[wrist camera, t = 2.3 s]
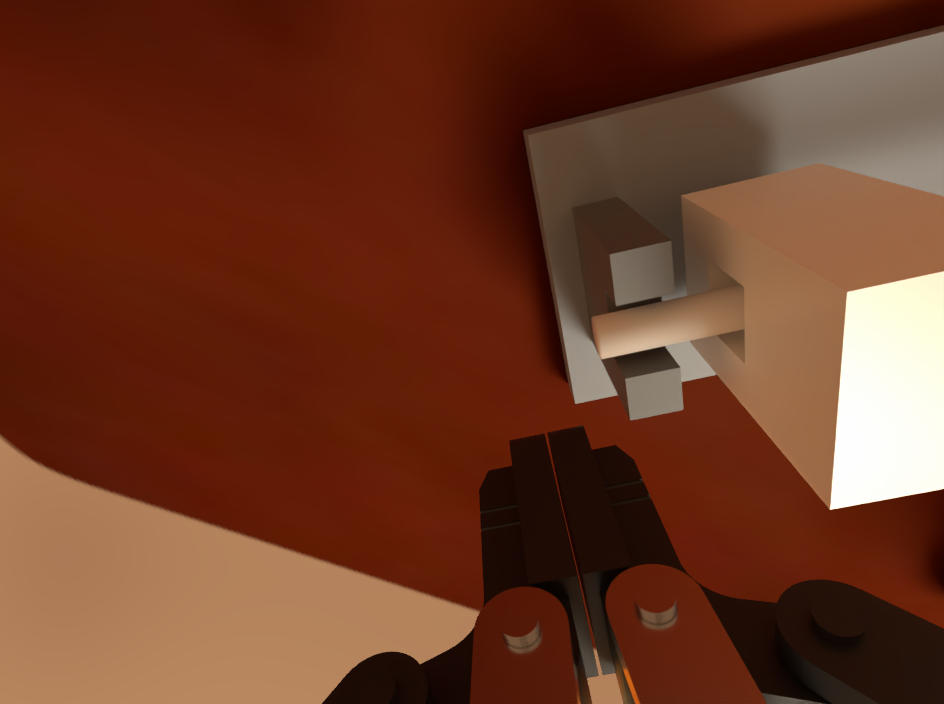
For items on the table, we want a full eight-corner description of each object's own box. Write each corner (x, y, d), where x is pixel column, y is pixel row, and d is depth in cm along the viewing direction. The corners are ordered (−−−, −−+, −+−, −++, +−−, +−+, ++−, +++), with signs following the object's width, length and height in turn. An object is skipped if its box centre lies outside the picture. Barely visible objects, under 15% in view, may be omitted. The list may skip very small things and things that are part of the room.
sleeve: (681, 195, 17) (846, 291, 10) (819, 162, 16) (1098, 238, 9) (690, 342, 19) (829, 509, 12) (811, 316, 19) (1031, 472, 11)
